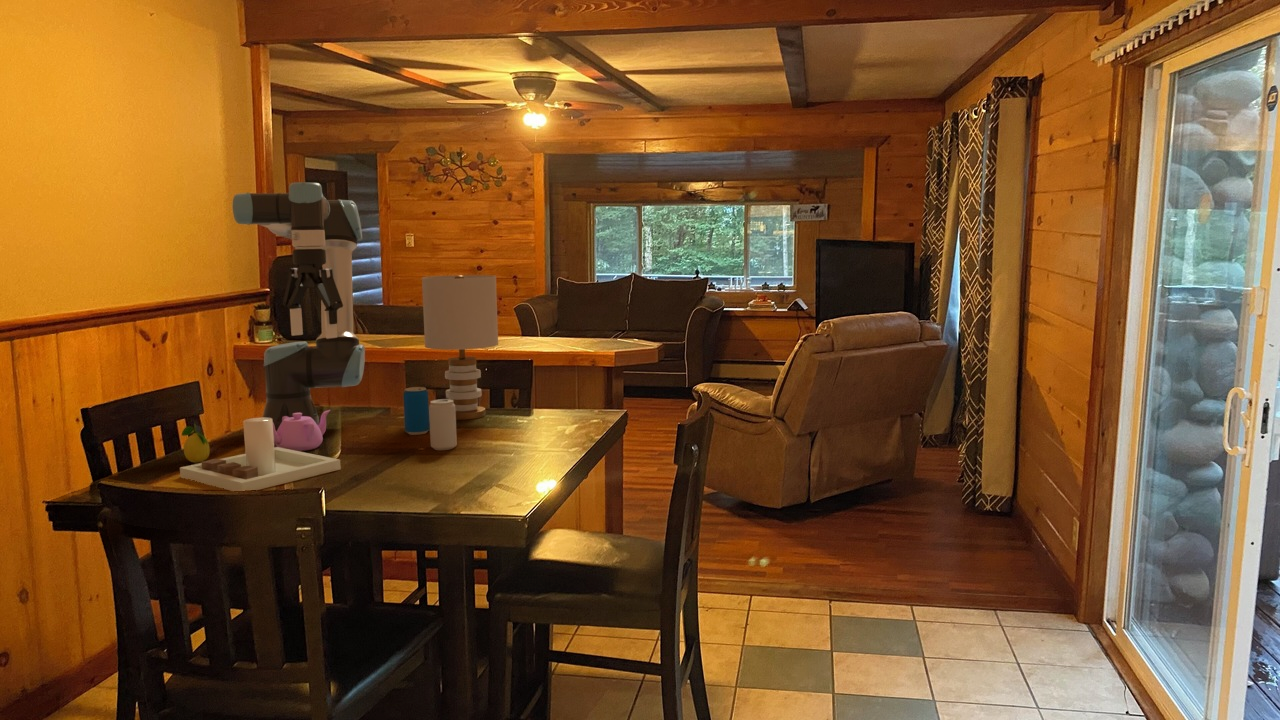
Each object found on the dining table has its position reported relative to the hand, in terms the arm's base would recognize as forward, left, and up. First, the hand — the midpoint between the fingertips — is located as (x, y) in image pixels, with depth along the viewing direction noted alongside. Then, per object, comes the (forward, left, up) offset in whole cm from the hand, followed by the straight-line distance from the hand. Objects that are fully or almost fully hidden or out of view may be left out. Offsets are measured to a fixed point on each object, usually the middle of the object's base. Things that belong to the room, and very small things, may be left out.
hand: (314, 336), depth 233 cm
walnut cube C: (+15, -30, -28) cm, 43 cm away
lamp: (-5, +53, -29) cm, 61 cm away
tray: (+9, -22, -29) cm, 37 cm away
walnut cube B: (+9, -30, -28) cm, 42 cm away
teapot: (-10, +1, -29) cm, 31 cm away
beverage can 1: (+2, +29, -29) cm, 41 cm away
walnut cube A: (+3, -30, -28) cm, 41 cm away
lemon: (-14, -24, -29) cm, 40 cm away
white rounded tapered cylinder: (+9, -22, -28) cm, 37 cm away
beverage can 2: (+22, +20, -29) cm, 41 cm away
